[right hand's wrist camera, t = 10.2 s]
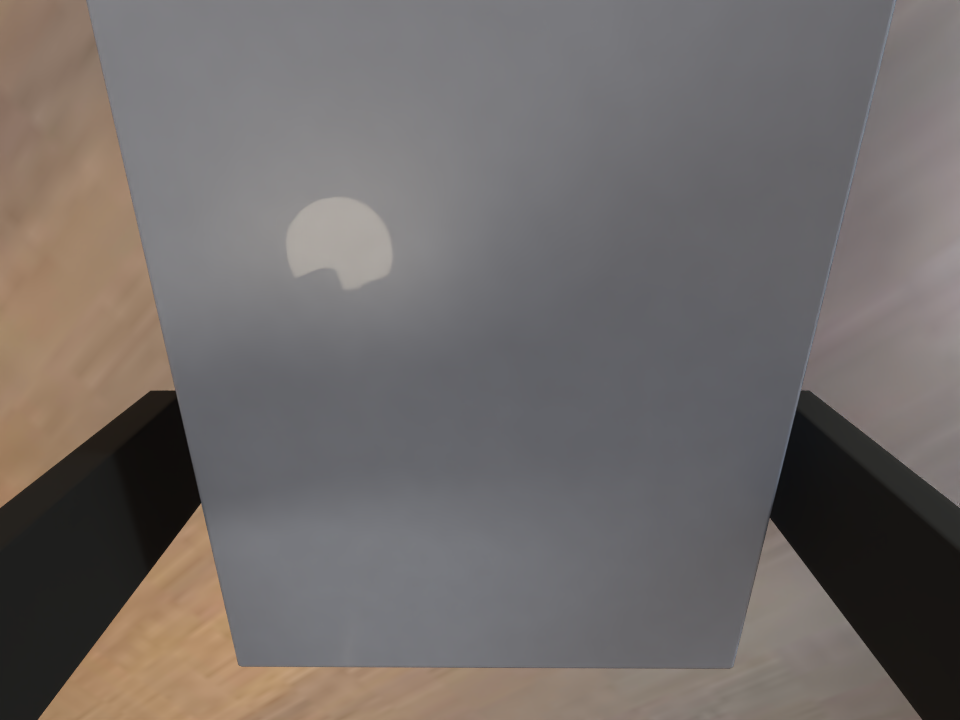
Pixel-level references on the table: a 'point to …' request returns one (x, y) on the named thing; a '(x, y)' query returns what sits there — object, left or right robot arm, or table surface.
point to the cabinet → (488, 306)
